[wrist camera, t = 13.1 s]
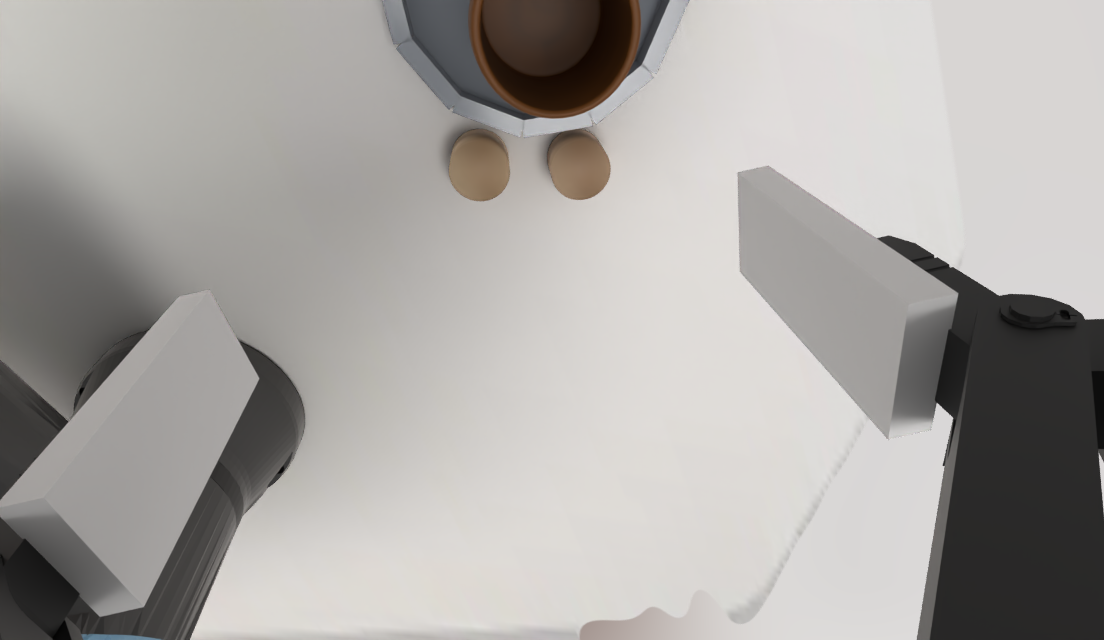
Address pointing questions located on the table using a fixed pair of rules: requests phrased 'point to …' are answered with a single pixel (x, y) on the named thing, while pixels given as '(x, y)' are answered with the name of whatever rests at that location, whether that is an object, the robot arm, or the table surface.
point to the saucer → (454, 76)
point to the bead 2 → (578, 164)
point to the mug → (554, 51)
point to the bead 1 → (479, 165)
